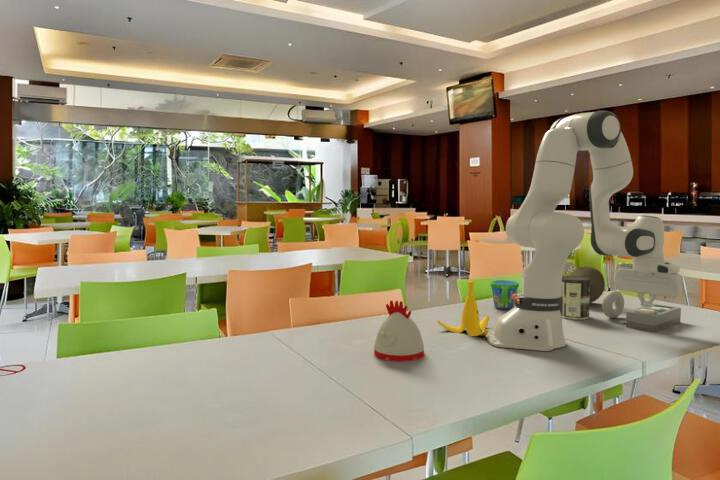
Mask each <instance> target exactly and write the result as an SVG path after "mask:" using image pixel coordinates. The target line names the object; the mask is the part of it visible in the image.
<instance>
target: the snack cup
mask: <svg viewBox="0 0 720 480" xmlns="http://www.w3.org/2000/svg"><path fill="white" fill-rule="evenodd" d="M519 285H520V284H519V282H518V281H515V280H507V279H506V280H505V279H504V280H503V279H497V280H492V281H490V287H491V291H492V301H493V306H494V308H495V309H498V310H507V311H509V310H511V309H512V308H514V307H515V301H513V299H512V295H513V294H517V293H518V289H519ZM517 295H518V294H517Z"/></svg>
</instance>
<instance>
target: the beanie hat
mask: <svg viewBox="0 0 720 480" xmlns="http://www.w3.org/2000/svg"><path fill="white" fill-rule="evenodd" d="M385 307H386V310H387V312H388V316H386V317H385V319H384V320H383V322H382V323H381V325H380V326H379V329H378V332H377V334H376V338H375V341H374V348H373V349H374V350H373V351H374V352H373V353H374V356H375V357H377V359H378V358H379V359H380V360H384V361H390V362H409V361H417V360H419V359H421V358H423V357H424V356H425V355H424V354H425V348H424V341H423V337H422V334H421V331H420V329H419V327H418V325H417V323H416V322H415V321H414V319H413V318H412V317H411V315H412V310H409V311H408V312H407V310H408V305H405V306H404V303H403V301H402V300H401V301H398V300H395V302H393V300H389V304H388V303H386V304H385Z"/></svg>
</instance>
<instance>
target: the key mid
mask: <svg viewBox="0 0 720 480" xmlns="http://www.w3.org/2000/svg"><path fill="white" fill-rule="evenodd" d="M645 309H649V310H655V312H663V308H661V307H654V306H652V307H651V308H648V307H646V308H645Z"/></svg>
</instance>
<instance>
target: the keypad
mask: <svg viewBox="0 0 720 480" xmlns="http://www.w3.org/2000/svg"><path fill="white" fill-rule="evenodd" d="M652 306H654V307H663V308H669V310H667V309H663V312H655V314H654V315H648V314H642V313H637V310H639V309H645V308H646V307H642V306H640V307H638V308H635V309H632V310H628V311H626V316H625V317H626V319H625V327H627V328H632V329H637V330H641V331H646V332H653V333H656V332H658V331H660V330H661V331H662V330H663V329H666V328H669V327H671V326H674V325H677V324H680V323H681V318H682V317H681V316H682V315H681V314H682V313H681V312H682V308H681V307H680V306H679V307H678V306H671V305H666V304H665V305H664V304H658V303H652Z"/></svg>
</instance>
